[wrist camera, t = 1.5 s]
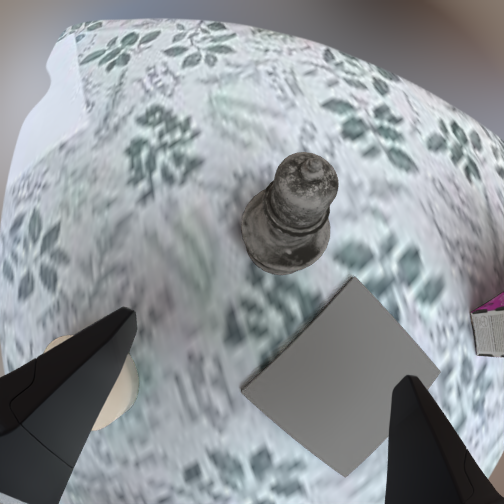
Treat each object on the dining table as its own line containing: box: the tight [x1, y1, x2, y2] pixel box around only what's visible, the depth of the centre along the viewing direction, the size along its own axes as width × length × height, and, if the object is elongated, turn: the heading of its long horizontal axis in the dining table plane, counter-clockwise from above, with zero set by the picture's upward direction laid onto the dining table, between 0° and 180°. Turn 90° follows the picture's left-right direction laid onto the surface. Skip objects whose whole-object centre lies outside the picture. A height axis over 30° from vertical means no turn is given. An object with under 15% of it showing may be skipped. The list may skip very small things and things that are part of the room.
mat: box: [241, 277, 441, 477], centre depth 20 cm, size 12×12×1 cm
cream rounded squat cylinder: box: [44, 335, 139, 431], centre depth 18 cm, size 7×7×4 cm
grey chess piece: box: [241, 152, 338, 275], centre depth 17 cm, size 6×6×12 cm
